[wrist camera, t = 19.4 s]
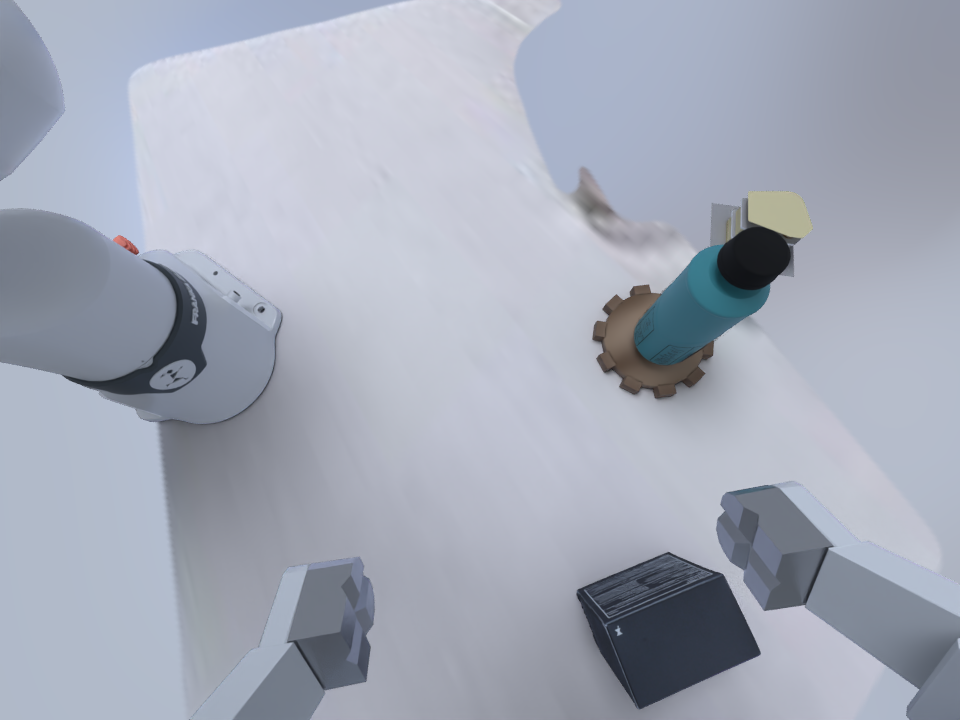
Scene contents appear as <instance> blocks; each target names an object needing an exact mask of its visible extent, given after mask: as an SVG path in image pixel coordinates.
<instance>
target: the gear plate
mask: <svg viewBox="0 0 960 720" xmlns="http://www.w3.org/2000/svg"><path fill="white" fill-rule="evenodd" d="M630 295H631V297H629V298H627V299H625V300H622V299H621V298H620V297H619V296H618V295H617V294H616V295H615V296H614V297H613V298H612V299H611V300H610V301H609V302H608V303H607V304H606V305H605V306H604V308H603V310H604V311H605V312H606V313H607V314H608V315H609V317H608V318H607V320H606V322H602V321H597V322H596V323H595V325H594V331H593V339H592V340H597V341H602V348H603V352H604V353H602V354H600V355H599V356H598V357H597V358H596V359H597V361H598V362H599V364H600V366H601V368H602V370H603V371H604V372H606V371H608V370H610V369H612V368H613V370H614V371H615V372H616V373H617V374H618V375H619V376H621V377H622V378H623V380H622V382H621V384H620V386H619V387H621V388H623V389H625V390H627V391H629V392H631V393H633V394H635V393H637V392H639V390H640V388H641V387H644V388H651V389H653V392H654V396H655V398H659V397H667V396H672V395H674V394H676V389H675V385H674V384H676V383H678V382H680V381H682V382H683V383H684V384H686V385H687V386H688V387H691V386H693V385H695V384H696V383H697V382H698V381H699V380H700V379H701V378H702V376H703V375H704V374H705V373H704V372H703V371H702V370H701V369H700V368H699V367H698V365H699V363H700V361H701V359H708V358H710V357H712V356H713V347H714V342H713V341H714V340H713V341H711V342H712V343H711V342H710V343H708V344H707V346H706V345H705V346H706V347H704V348H703V347H702V348H703V349H701V350H700V349H699V350H700V351H698V350H697V351H698V352H697V353H695V352H694V353H695V354H694V353H693V354H694V355H692V356H690V357H689V358H687V359H685V360H684V361H683V362H679V363H676V364H672V365H673V366H672V365H668V366H667V365H665V366H663V365H658V364H655V363H652V362H650V361H649V360H647V359H646V358H644V357H643V356H642V355H641V354H640V352H639V351H638V349H637V347H636V345H635V341H634V331H635V327H636V325H637V323H638V320H639V318H640V319H641V318H642V317H643V315H644V314H645V313H644V312H647V311H646V309H648V310H649V308H650V307H651V306H652V305H653V304H654V303H655V301H656V300H657V299H658V298H659V297H660V296H661V295H662V294H657V293H651V291H650V287H649V285H641V286H634V287H633V288H632V289H631V291H630ZM659 295H660V296H659ZM651 304H652V305H651Z"/></svg>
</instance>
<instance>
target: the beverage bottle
mask: <svg viewBox="0 0 960 720" xmlns="http://www.w3.org/2000/svg"><path fill="white" fill-rule="evenodd" d="M789 261H790V249H789V246H788V244H787V243H786V241H785V240H784V239H783V237H782V236H780V235H779V234H778V233H776V232H775V231H773V230H771V229H768V228H765V227H751V228H747V229H745V230H743V231H741V232H739V233H738V234H737V235H736V236H735V237H734V238H732V239H730V240H729V241H728V242H727V243H725V244H724V245H715V246H711V247H708V248H706V249H704V250H702V251H700V252H699V253H698V254H697V255H696V256H695V257H694V258H693V259H692V261H691V262H690V264H689V265H688V266H687V267H686V268H685V269H684V270H683V272H682V273H681V274H680V275H679V276H678V277H677V278H676V279H675V281H674V282H673V283H672V284H671V285H670V286H668V288H667V289H666V288H665V289H666V290H664V292H663V293H662V295H661V296H660V295H659V296H660V297H659V298H658V299H657V300H656V301H655V303H654V304H653V305H652V304H651V305H652V306H651V307H650V308H649V310H648V309H646V311H647V312H644V313H645V314H644V315H643V317H642V318H641V319H640V318H639V320H638V323H637V325H636V327H635V331H634V341H635V345H636V347H637V349H638V351H639V352H640V354H641V355H642V356H643V357H644V358H646V359H647V360H649V361H650V362H652V363H655V364H658V365H663V366H665V365H667V366H668V365H672V364H676V363H679V362H683V361H684V360H685V359H687V358H689V357H690V356H692V355H694V354H695V353H697V352H698V351H700V350H701V349H703V348H704V347H706V346H707V344H708V343H710V342H711V341H713V340H714V339H715V341H716V338H717V337H720V335H722V334H723V333H724V332H725V331H727V330H728V329H730V328H732V327H733V326H734V325H736V324H737V323H739V322H740V321H741V320H743V319H744V318H746V317H747V316H749V315H752V314H753V313H755V312H756V311H758V310H759V309H760V308H761V307H762V306H763V305H764V303H765V302H766V300H767V298H768V295H769V292H770V283H771V282H772V281H773V280H775V278H776V277H777V276H778V275H779V274H781V273H782V272H783V271H784V270H785V269H786V267H787V266H788V264H789ZM670 283H671V282H670ZM660 294H661V293H660ZM713 342H714V341H713ZM711 343H712V342H711ZM705 345H706V346H705ZM702 347H703V348H702ZM699 349H700V350H699ZM697 350H698V351H697ZM694 352H695V353H694ZM693 353H694V354H693ZM672 366H673V365H672Z"/></svg>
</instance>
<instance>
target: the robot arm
mask: <svg viewBox="0 0 960 720" xmlns="http://www.w3.org/2000/svg"><path fill="white" fill-rule="evenodd" d="M64 112H65V104H64V95H63V90H62V85H61V81H60V78H59V75H58V72H57V69H56V66H55V64H54V62H53V60H52V58H51V55H50V53H49V51H48V49H47V47H46V46H45V44H44V42H43V40H42V39H41V37H40V36H39V34H38V32H37V31H36V30H35V28H34V26H33V25H32V23H31V22H30V20H29V19H28V18H27V17H26V15H25V14H24V13H23V12H22V10H21V9H20V8H19V7H18V5H17V4H16V3H15V2H14V1H13V0H0V181H1V180H3V179H4V178H6V177H7V176H8V175H10V174H12V172H14V170H15V169H16V168H17V167H18V166H19V165H20V164H21V163H22V162H23V161H24V160H25V158H26V157H27V156H28V155H29V154H30V153H31V152H32V151H33V150H34V149H35V147H36V146H37V145H38V144H39V143H40V142H41V141H42V139H43V138H44V137H45V136H46V134H47V133H48V132H49V131H50V129H51V128H52V127H53V126H54V125H55V123H56V122H57V121H58V119H59V118H60V117H61V116H62V114H63V113H64ZM138 253H139V251H138V250H137V248H136V247H135V246H134V245H133V244H132V243H131V242H130V241H129V240H127V239H126V238H124V237H123V236H117V237H116V238H115V239H114V240H111V239H110V238H108V237H106V236H105V235H103V234H102V233H100V232H99V231H97V230H96V229H94V228H92V227H91V226H89V225H87V224H86V223H84V222H82V221H79V220H77V219H74V218H71V217H68V216H64V215H61V214H56V213H52V212H48V211H43V210H36V209H23V208H18V209H1V210H0V362H2V363H8V364H13V365H19V366H23V367H29V368H33V369H38V370H43V371H47V372H52V373H56V374H61V375H62V376H64V377H65V378H66V379H68V380H70V381H72V382H75V383H77V384H80V385H82V386H85V387H87V388H90V389H94V390H97V391H100V392H99V395H100V396H102V397H103V398H105V399H107V400H110V401H113V402H116V403H119V404H122V405H126V406H129V407H132V408H135V409H136V411H137V414H138V416H139V417H140V418H141V419H143V420H147V421H150V422H157V421H164V420H169V419H176V420H181V421H185V422H189V423H195V424H209V423H215V422H219V421H223V420H226V419H228V418H231V417H233V416H235V415H236V414H238V413H240V412H241V411H243V410H244V409H246V408H247V407H248V406H249V405H250V404H252V403H253V402H254V401H255V400H256V398H257V397H258V396H259V395H260V394H261V392H262V391H263V389H264V388H265V386H266V384H267V383H268V381H269V378H270V376H271V373H272V370H273V366H274V360H275V335H276V333H277V330H278V328H279V325H280V322H281V318H282V315H281V312H280V310H279V309H278V308H276V307H275V306H274V305H272V304H271V303H269V302H268V301H267V300H265V299H264V298H263V297H261V296H260V295H259V294H257V293H256V292H255V291H253V290H252V289H251V288H249V287H248V286H246V285H245V284H244V283H242V282H241V281H240V280H238V279H237V278H236V277H234V276H233V275H232V274H230V273H229V272H228V271H226V270H225V269H223V268H222V267H221V266H219V265H218V264H217V263H215V262H214V261H213V260H211V259H210V258H209V257H207V256H206V255H204V254H203V253H201V252H199V251H198V250H187V251H183V252H179V253H176V254H174V255H173V254H172V253H170V252H169V251H167V250H153V251H149V252H146V253H143V254H141V255H139V256H136V255H137V254H138ZM262 309H265V311H264V312H263V313H261V310H262ZM720 505H721V506H722V508H723V509H724V510H725V512H724V513H723V514H722V515H721V516H720V517H719V518H718V519H717V526H716V531H717V536H718V540H719V543H720V545H721V547H722V549H723V551H724V553H725V554H726V556H727V558H728V559H729V561H730V562H731V563H733V564H735V565H736V566H738V567H739V568H741V569H743V570H744V578H743V581H744V583H745V584H746V586H747V587H748V588H749V590H750V591H751V593H752V594H753V596H754V597H755V599H756V600H757V601H758V603H759V604H760V606H761V607H762V609H763V610H764V611H767V610H774V609H781V608H788V607H795V606H801V605H806V606H805V608H806V609H808V610H809V611H811V612H812V613H813V614H815V615H816V616H818V617H819V618H820V619H822V620H823V621H825V622H826V623H827V624H829V625H830V626H832V627H833V628H834V629H836V630H837V631H839V632H840V633H841V634H843V635H844V636H846V637H847V638H848V639H850V640H851V641H853V642H854V643H855V644H857V645H858V646H859V647H861V648H862V649H864V650H865V651H866V652H868V653H869V654H871V655H872V656H873V657H875V658H876V659H878V660H879V661H880V662H882V663H883V664H885V665H886V666H887V667H889V668H890V669H892V670H893V671H894V672H896V673H897V674H899V675H900V676H902V677H903V678H904V679H906V680H907V681H909V682H910V683H911V684H913V685H914V686H915V687H917V688H918V689H920V690H919V691H918V692H917V694H916V695H915V697H914V698H913V699H912V701H911V702H910V704H909V705H908V706H907V713H906V716H907V717H908V718H909V720H960V584H959V583H957V582H955V581H952V580H950V579H948V578H946V577H944V576H942V575H940V574H938V573H935V572H933V571H931V570H929V569H927V568H925V567H923V566H921V565H918V564H916V563H914V562H912V561H910V560H908V559H906V558H903V557H901V556H899V555H897V554H895V553H893V552H891V551H889V550H886V549H884V548H882V547H880V546H878V545H876V544H874V543H872V542H869V541H867V542H861V541H860V540H859V539H858V538H857V537H856V536H855V535H853V534H852V533H851V532H850V531H849V530H848V529H847V528H846V527H845V526H844V525H843V524H842V523H841V522H840V521H839V520H838V519H837V518H836V517H835V516H834V515H833V514H832V513H831V512H830V511H829V510H828V509H827V508H825V507H824V506H823V505H822V504H821V503H820V502H819V501H818V500H817V499H816V498H815V497H814V496H813V495H812V494H811V493H810V492H809V491H808V490H807V489H806V488H805V487H804V486H803V485H801V484H800V483H798V482H796V481H790V482H784V483H779V484H773V485H764V486H759V487H753V488H748V489H743V490H737V491H732V492H727V493H725V494H724V495H723V496H722V500H721V504H720ZM363 570H364V565H363V563H362V561H361V558H360V557H354V558H347V559H340V560H333V561H326V562H319V563H312V564H306V565H299V566H293V567H288V569H287V570H286V571H285V573H284V574H283V576H282V579H281V582H280V585H279V588H278V591H277V594H276V597H275V600H274V603H273V605H272V608H271V611H270V614H269V617H268V620H267V623H266V626H265V629H264V632H263V635H262V638H261V641H260V644H259V647H258V648H255V649H251V650H250V651H249V652H248V653H247V654H246V655H245V657H244V658H243V659H242V660H241V661H240V662H239V663H238V665H237V666H236V667H235V668H234V669H233V670H232V671H231V673H230V674H229V675H228V676H227V677H226V678H225V679H224V681H223V682H222V683H221V684H220V685H219V686H218V687H217V689H216V690H215V691H214V692H213V693H212V694H211V695H210V697H209V698H208V699H207V700H206V701H205V702H204V703H203V705H202V706H201V707H200V708H199V709H198V710H197V711H196V713H195V714H194V715H193V716H192V717H191V718H190V719H189V720H310V718H311V716H312V715H313V713H314V711H315V710H316V708H317V706H318V705H319V703H320V701H321V699H322V698H323V696H324V694H325V691H324V690H329V689H333V688H338V687H343V686H348V685H353V684H357V683H362V682H366V679H367V671H368V663H369V655H370V647H371V646H370V644H369V642H368V640H367V638H366V634H367V633H368V631H369V630H370V628H371V627H372V626H373V622H374V612H375V605H374V592H373V587H372V584H371V582H370V579H369V578H367V577H365V576H363Z"/></svg>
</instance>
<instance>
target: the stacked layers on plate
mask: <svg viewBox="0 0 960 720" xmlns="http://www.w3.org/2000/svg"><path fill="white" fill-rule="evenodd" d="M751 227H765V228H768V229H771V230H773V231H775V232H776V233H778V234H779V235H780V236H782V237H783V239H784V240H785V241H786V243H787V244H788V246H789V249H790V261H789V264H788V266H787V267H786V269H785V270H784V271H783V272H782V273H781V274H779V275H782V276H789V277H794V250H793V245H795V244H796V243H797V242H798V241H799V240H800V239H801V238H804V237H805V236H806V235H807V234H808V233H809V232H810V231H811V230H812V229H813V226H812V223H811V220H810V217H809V215H808V212H807V209H806V206H805V203H804V201H803V199H802V198H801V197H800V196H799V195H797V194H796V193H793V192H789V191H749V192H748V198H743V199H742V200H741V207H739V206H731V205H723V204H715V203H712V206H711V233H710V247H711V246H715V245H724V244H725V243H727V242H728V241H729V240H730V239H732V238H734V237H735V236H736V235H737V234H738V233H739V232H741V231H743V230H745V229H747V228H751Z"/></svg>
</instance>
